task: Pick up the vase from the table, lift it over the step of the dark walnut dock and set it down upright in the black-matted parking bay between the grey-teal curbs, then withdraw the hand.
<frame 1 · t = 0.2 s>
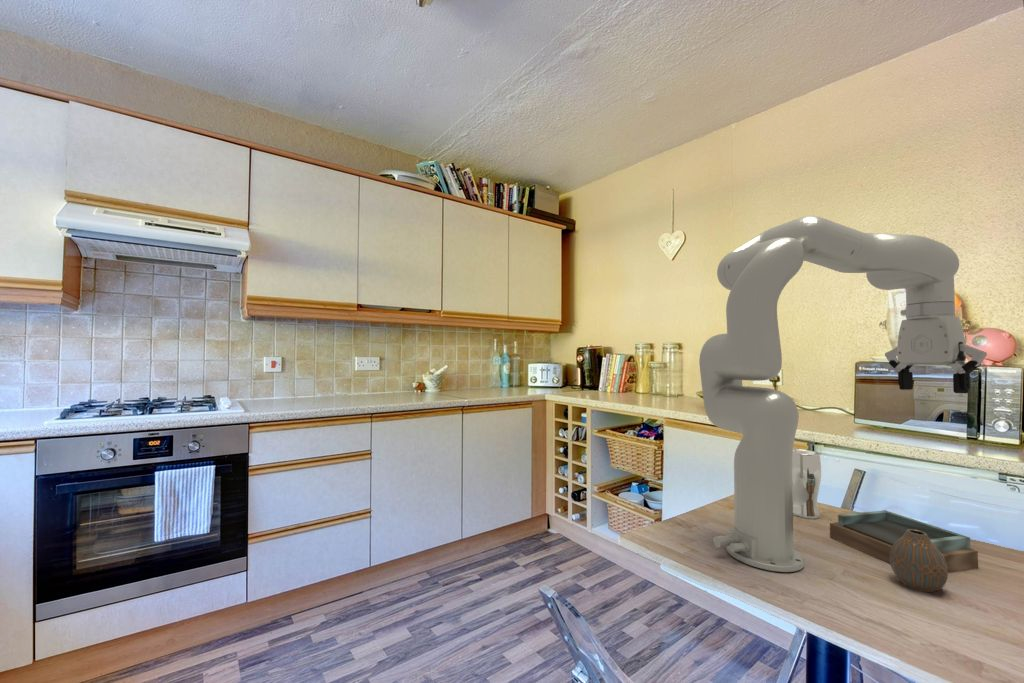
hand: (932, 391, 90), 31 cm above the table, tool pointing down, fingers open, 9 cm apart
beer glass: (804, 515, 100), on the table
dock: (898, 551, 81), on the table
vase: (918, 587, 69), on the table
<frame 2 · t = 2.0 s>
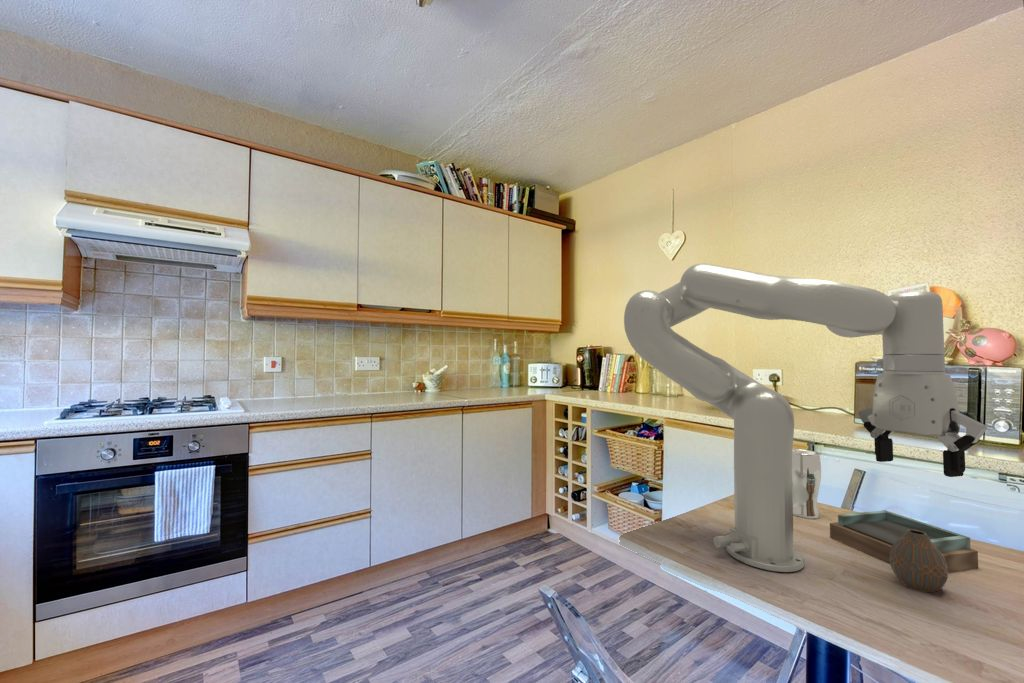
hand: (916, 468, 69), 19 cm above the table, tool pointing down, fingers open, 9 cm apart
nothing on the table moved.
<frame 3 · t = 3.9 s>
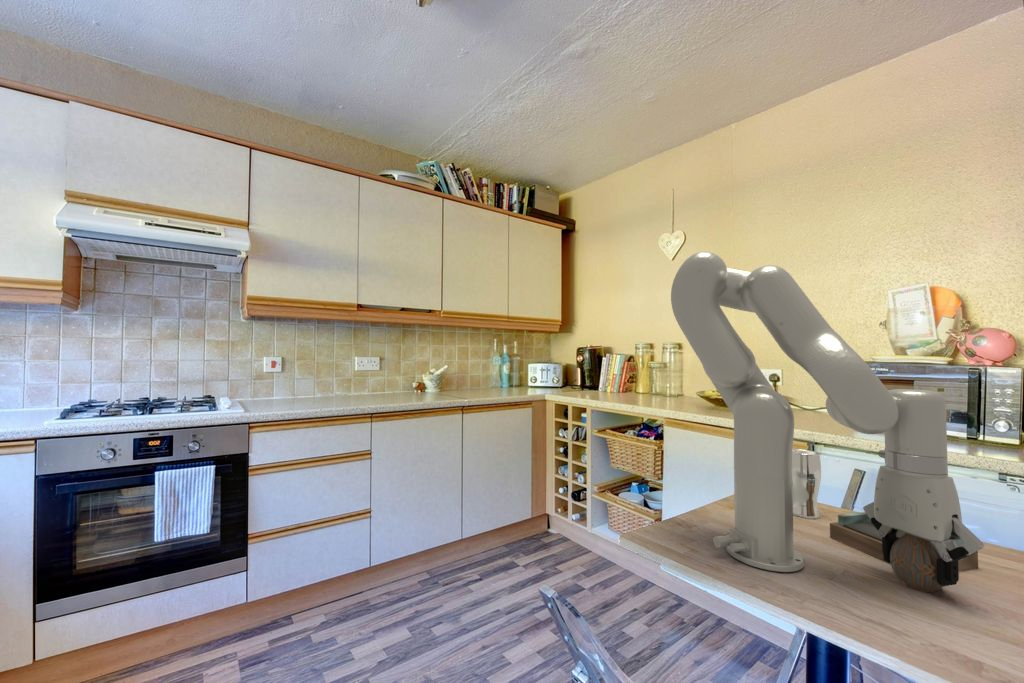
hand: (918, 571, 69), 2 cm above the table, tool pointing down, fingers closed on vase, 7 cm apart
vase: (918, 586, 69), on the table, touching gripper
everything else where it was.
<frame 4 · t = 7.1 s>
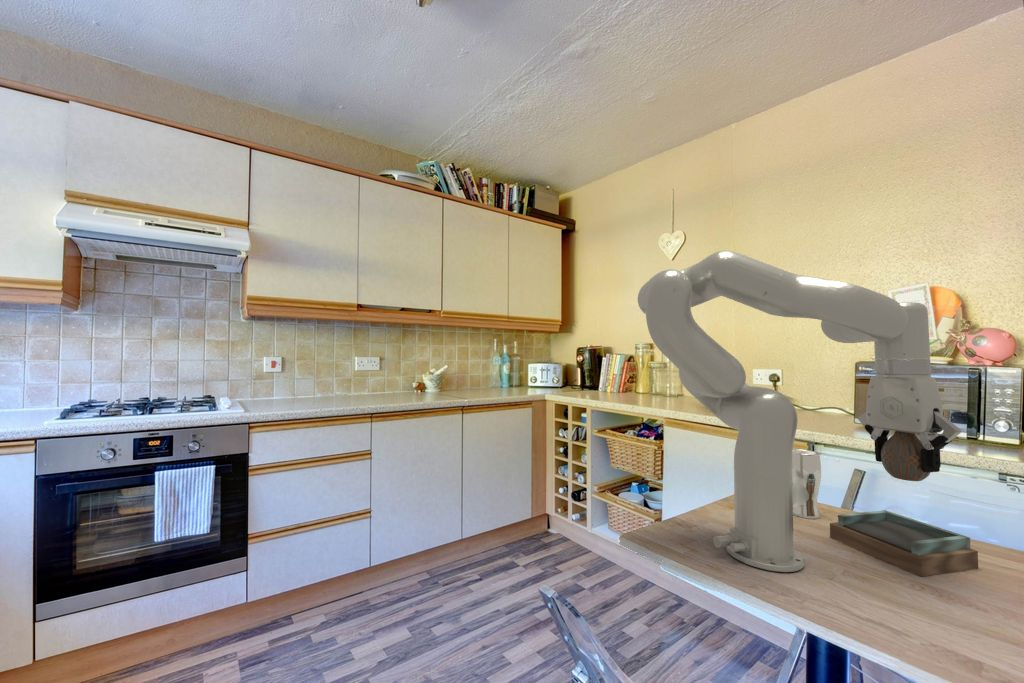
hand: (906, 465, 76), 18 cm above the table, tool pointing down, fingers closed on vase, 6 cm apart
vase: (906, 479, 76), point 15 cm above the table, touching gripper
everything else where it was.
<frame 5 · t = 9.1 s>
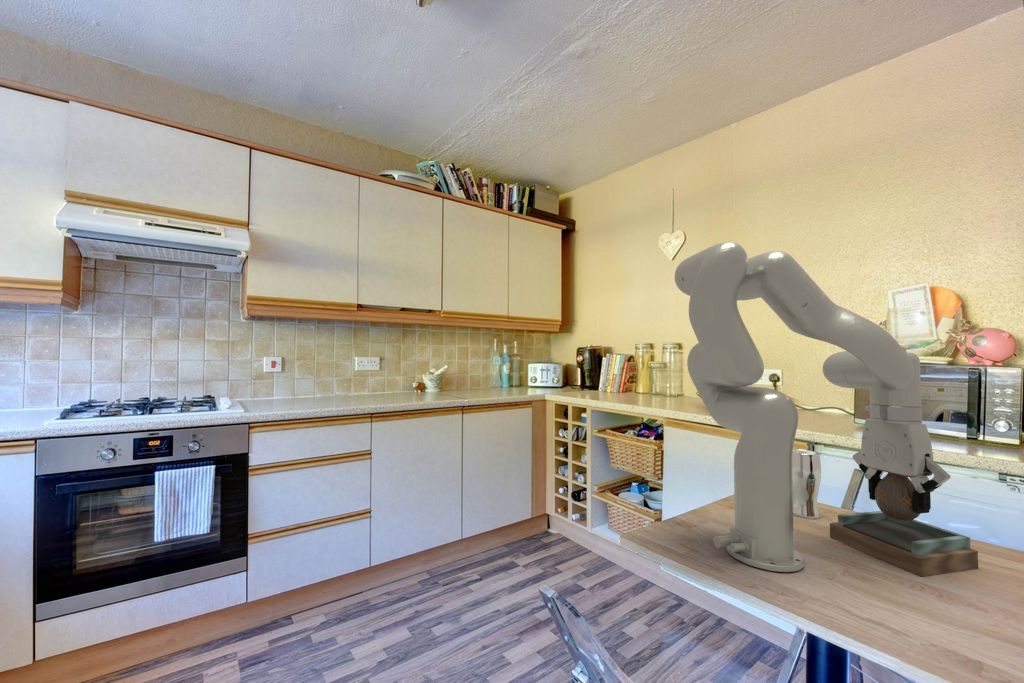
hand: (898, 504, 81), 9 cm above the table, tool pointing down, fingers closed on vase, 6 cm apart
vase: (898, 517, 81), point 6 cm above the table, touching gripper
everything else where it was.
when the fingers open (7 cm above the table, at t = 10.5 s): vase drops 1 cm, resting on dock.
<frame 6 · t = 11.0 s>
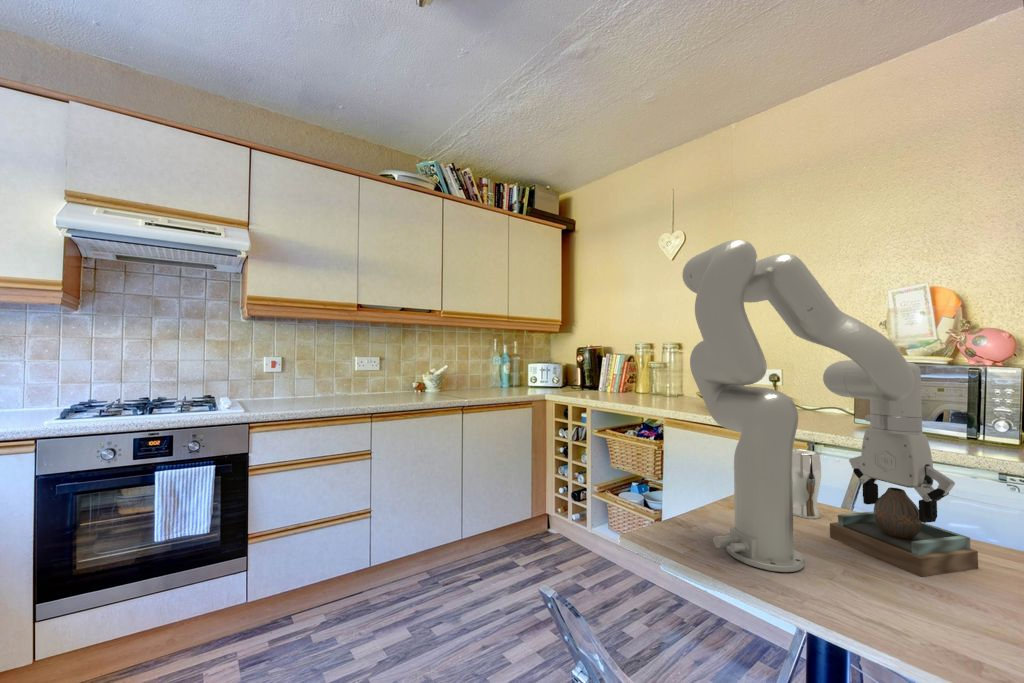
hand: (897, 512, 81), 8 cm above the table, tool pointing down, fingers open, 9 cm apart
vase: (897, 535, 81), point 3 cm above the table, touching dock
everything else where it was.
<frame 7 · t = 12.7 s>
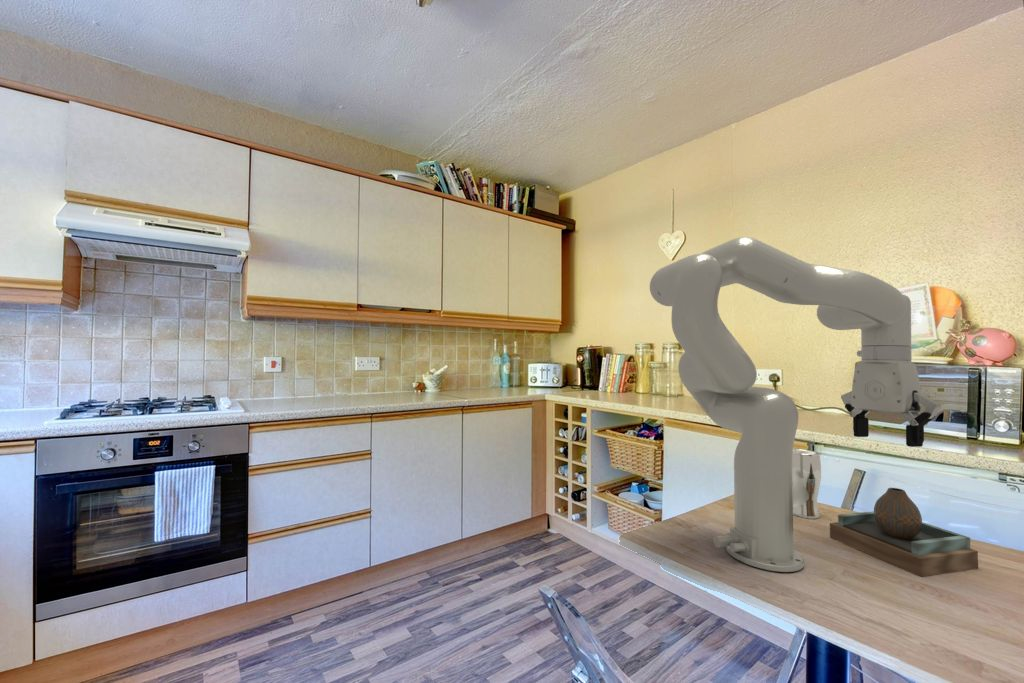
hand: (886, 441, 83), 21 cm above the table, tool pointing down, fingers open, 9 cm apart
nothing on the table moved.
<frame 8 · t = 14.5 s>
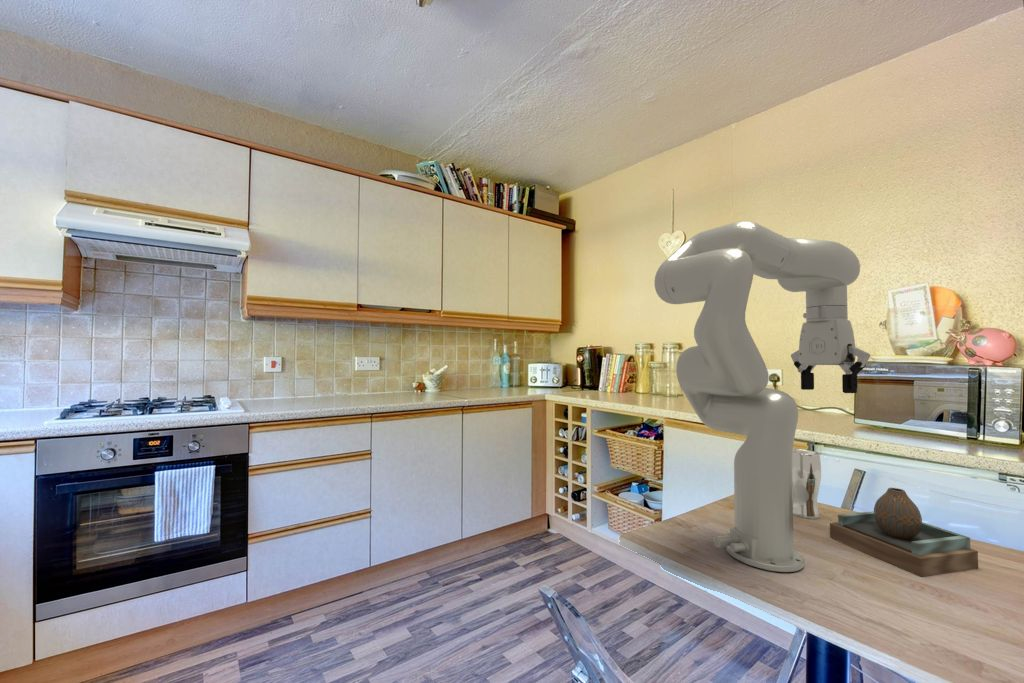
hand: (827, 391, 93), 30 cm above the table, tool pointing down, fingers open, 9 cm apart
nothing on the table moved.
at the end: vase inside the target area on the dock (0.3 cm from its centre), point 3.1 cm above the dock's base; vase tilted 0°; the gripper is holding nothing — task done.
